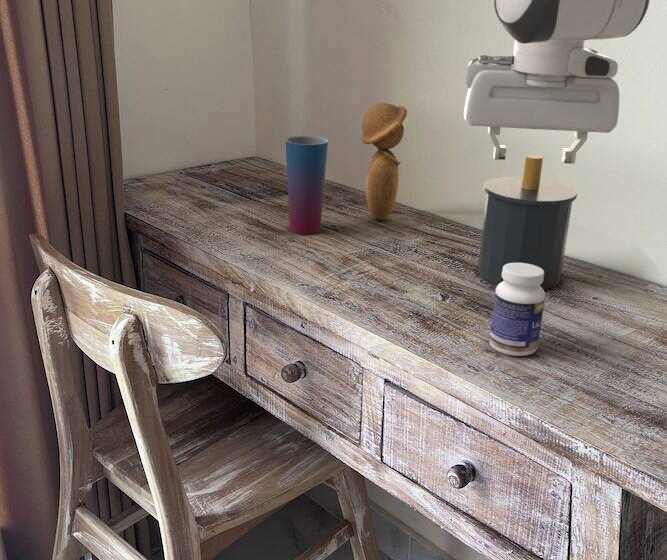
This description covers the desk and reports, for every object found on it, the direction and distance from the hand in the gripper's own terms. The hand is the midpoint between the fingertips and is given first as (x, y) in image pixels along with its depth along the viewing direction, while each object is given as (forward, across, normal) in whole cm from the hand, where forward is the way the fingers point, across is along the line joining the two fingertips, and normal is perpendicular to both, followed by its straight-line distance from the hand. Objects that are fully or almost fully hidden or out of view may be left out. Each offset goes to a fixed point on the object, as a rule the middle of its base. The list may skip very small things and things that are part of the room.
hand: (533, 160), depth 112 cm
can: (+17, 0, 0) cm, 17 cm away
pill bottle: (+17, -4, -24) cm, 30 cm away
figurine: (+17, -21, +23) cm, 36 cm away
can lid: (+4, 0, 0) cm, 5 cm away
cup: (+17, -33, +15) cm, 40 cm away
